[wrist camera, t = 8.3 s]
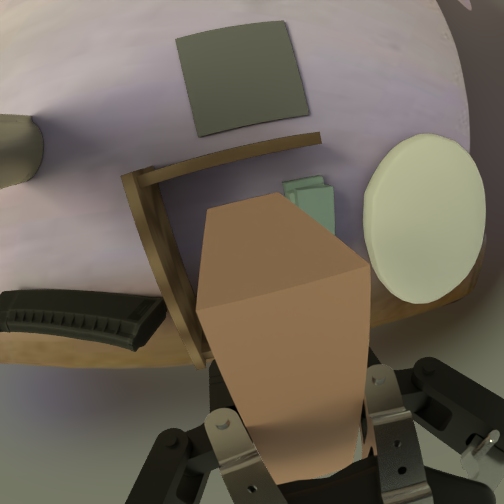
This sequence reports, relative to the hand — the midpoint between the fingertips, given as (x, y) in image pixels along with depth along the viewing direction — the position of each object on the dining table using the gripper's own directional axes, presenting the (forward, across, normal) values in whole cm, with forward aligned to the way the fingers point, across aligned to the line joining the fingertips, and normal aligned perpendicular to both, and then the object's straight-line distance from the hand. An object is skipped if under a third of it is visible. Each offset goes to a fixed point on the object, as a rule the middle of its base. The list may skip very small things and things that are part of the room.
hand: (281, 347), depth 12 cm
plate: (+25, -30, +7) cm, 40 cm away
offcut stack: (+25, -9, +2) cm, 27 cm away
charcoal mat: (+25, -4, -18) cm, 31 cm away
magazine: (+25, +28, +6) cm, 38 cm away
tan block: (+5, 0, 0) cm, 5 cm away
